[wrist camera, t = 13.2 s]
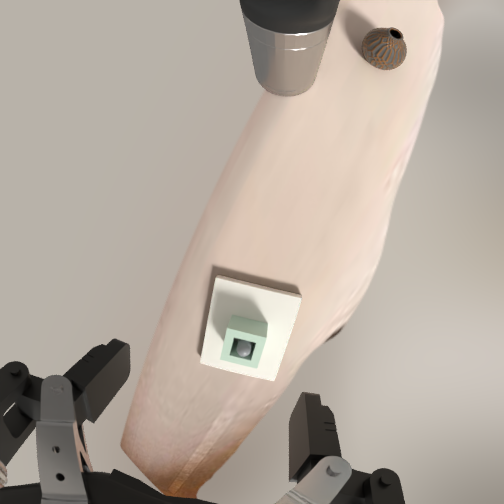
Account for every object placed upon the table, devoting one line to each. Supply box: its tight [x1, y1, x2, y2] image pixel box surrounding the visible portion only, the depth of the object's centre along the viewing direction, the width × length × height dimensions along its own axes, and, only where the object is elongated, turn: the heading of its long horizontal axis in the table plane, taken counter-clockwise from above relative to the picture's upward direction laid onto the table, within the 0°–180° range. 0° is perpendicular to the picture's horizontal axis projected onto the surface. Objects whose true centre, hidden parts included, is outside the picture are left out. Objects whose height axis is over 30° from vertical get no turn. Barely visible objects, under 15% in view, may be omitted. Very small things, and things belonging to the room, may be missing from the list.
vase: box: [362, 28, 407, 70], centre depth 27 cm, size 7×7×9 cm
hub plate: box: [200, 275, 302, 381], centre depth 39 cm, size 16×13×7 cm
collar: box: [220, 315, 268, 369], centre depth 39 cm, size 6×6×4 cm
